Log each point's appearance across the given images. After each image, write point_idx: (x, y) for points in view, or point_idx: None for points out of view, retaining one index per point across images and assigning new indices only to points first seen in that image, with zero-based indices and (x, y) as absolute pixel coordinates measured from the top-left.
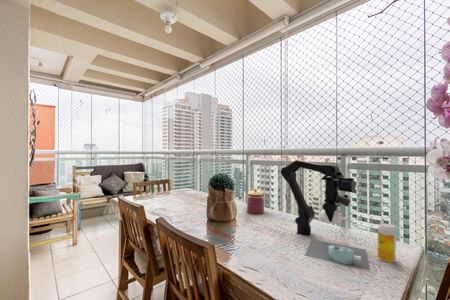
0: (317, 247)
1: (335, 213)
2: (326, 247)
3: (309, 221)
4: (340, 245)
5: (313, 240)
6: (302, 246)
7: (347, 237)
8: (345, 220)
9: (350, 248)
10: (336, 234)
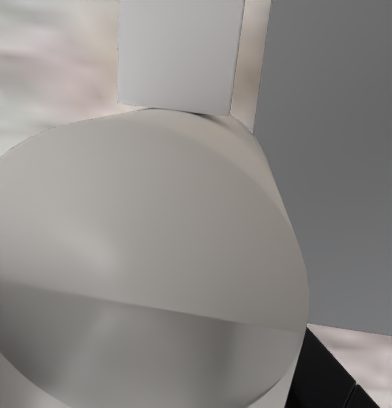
0: (379, 280)
1: (237, 353)
2: (360, 220)
3: None
4: (276, 107)
5: None
6: (361, 357)
7: (22, 27)
8: (244, 5)
9: (319, 18)
10: (7, 122)
